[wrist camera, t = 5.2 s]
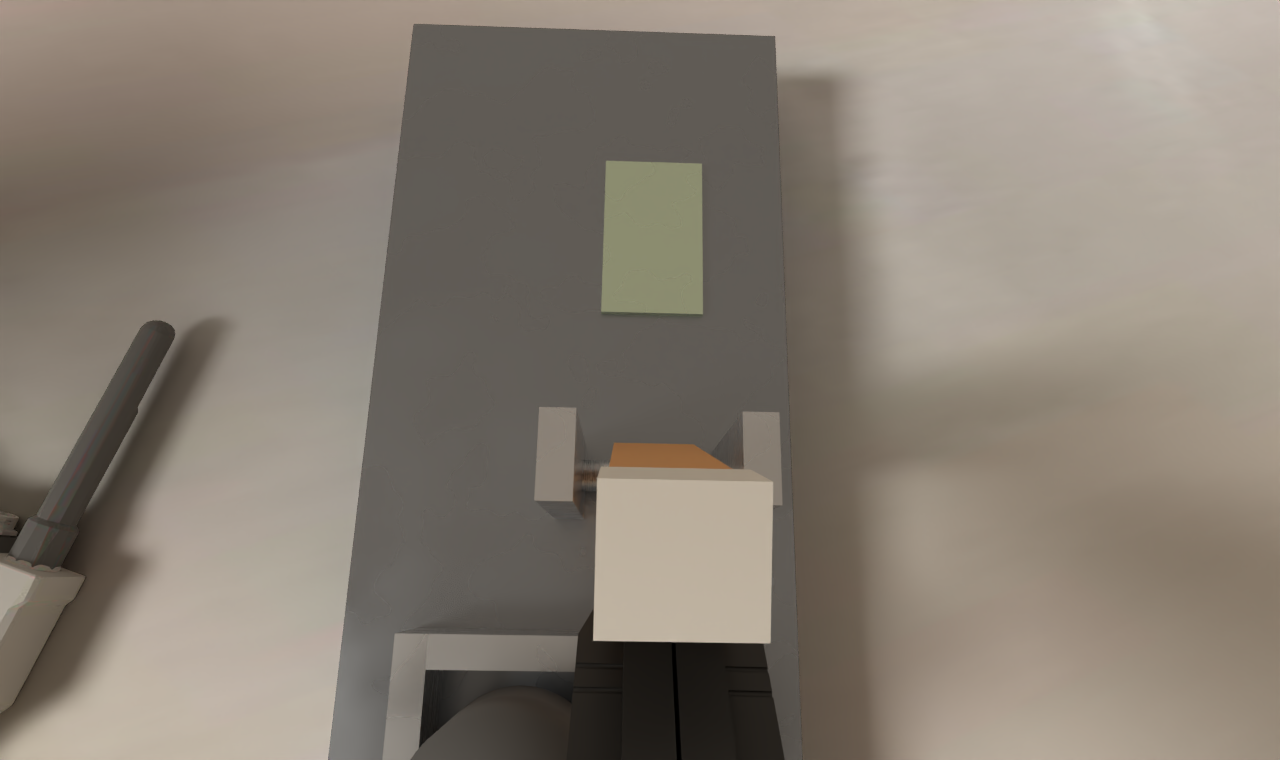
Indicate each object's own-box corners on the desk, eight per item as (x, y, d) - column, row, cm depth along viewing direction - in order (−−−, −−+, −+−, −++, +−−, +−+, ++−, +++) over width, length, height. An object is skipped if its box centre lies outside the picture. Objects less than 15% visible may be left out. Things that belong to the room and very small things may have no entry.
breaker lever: (608, 518, 18) (593, 640, 9) (609, 438, 18) (596, 478, 9) (695, 520, 18) (770, 643, 9) (697, 440, 18) (772, 481, 9)
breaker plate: (355, 852, 20) (194, 1021, 13) (435, 83, 27) (362, -116, 19) (781, 855, 21) (878, 1023, 13) (758, 93, 27) (813, -98, 19)
